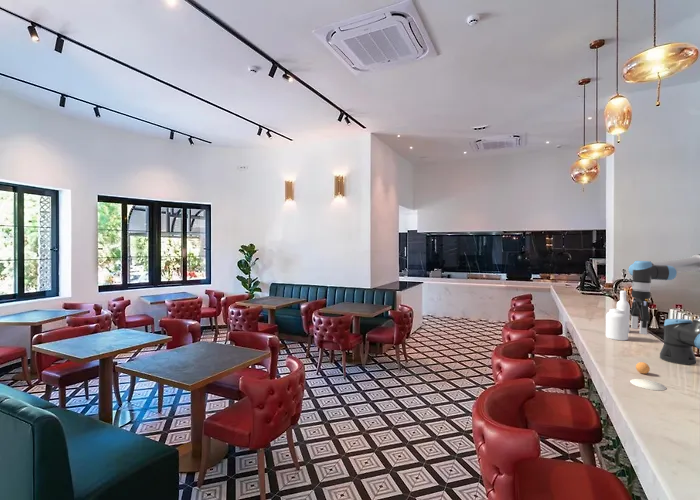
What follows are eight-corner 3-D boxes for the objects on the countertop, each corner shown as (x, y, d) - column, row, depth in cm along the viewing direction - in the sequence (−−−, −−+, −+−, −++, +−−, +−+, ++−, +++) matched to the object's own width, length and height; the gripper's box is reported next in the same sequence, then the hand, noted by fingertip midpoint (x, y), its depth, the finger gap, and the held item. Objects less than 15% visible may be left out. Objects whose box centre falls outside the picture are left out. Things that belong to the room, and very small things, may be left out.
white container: (601, 337, 251) (601, 308, 250) (612, 335, 256) (612, 306, 256) (621, 341, 239) (621, 311, 239) (632, 339, 245) (632, 309, 244)
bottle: (623, 333, 260) (624, 291, 260) (613, 330, 268) (613, 290, 267) (632, 332, 262) (632, 291, 262) (621, 329, 270) (622, 289, 269)
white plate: (663, 382, 171) (663, 382, 171) (668, 392, 160) (668, 392, 160) (628, 377, 178) (628, 377, 178) (631, 386, 167) (631, 386, 167)
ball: (648, 372, 184) (649, 361, 184) (650, 376, 179) (650, 365, 179) (635, 370, 187) (635, 360, 187) (636, 373, 182) (636, 363, 182)
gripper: (624, 287, 201) (622, 325, 201) (640, 292, 178) (637, 335, 178) (641, 288, 198) (639, 327, 198) (659, 294, 175) (656, 337, 175)
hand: (638, 331), depth 188 cm, fingers open, 13 cm apart
